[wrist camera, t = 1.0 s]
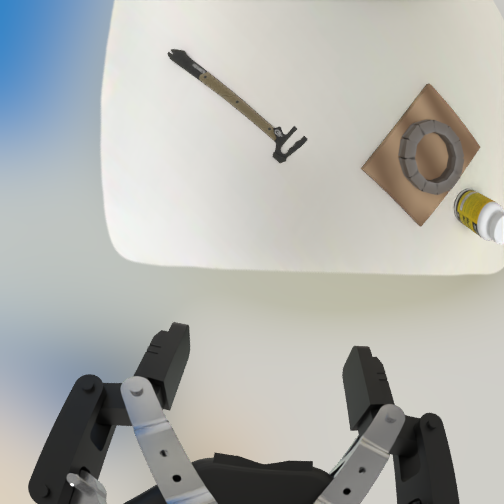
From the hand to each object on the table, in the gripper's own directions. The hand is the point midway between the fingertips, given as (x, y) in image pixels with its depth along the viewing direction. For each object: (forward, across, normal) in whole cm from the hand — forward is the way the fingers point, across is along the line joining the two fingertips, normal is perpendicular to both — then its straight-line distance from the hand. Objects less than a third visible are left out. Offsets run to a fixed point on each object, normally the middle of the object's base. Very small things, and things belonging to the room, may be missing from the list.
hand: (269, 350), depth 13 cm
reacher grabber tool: (+26, +6, -14) cm, 30 cm away
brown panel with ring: (+26, -19, -10) cm, 34 cm away
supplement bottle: (+26, -29, -5) cm, 39 cm away
